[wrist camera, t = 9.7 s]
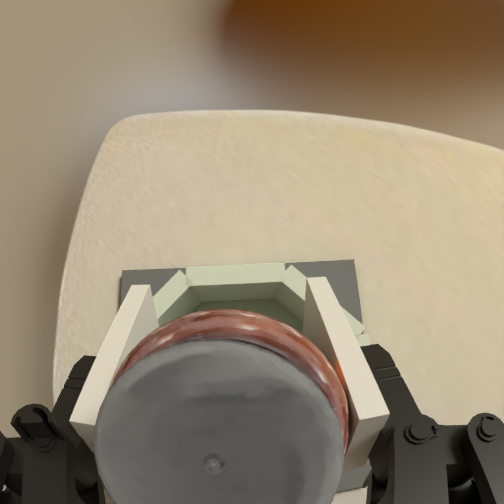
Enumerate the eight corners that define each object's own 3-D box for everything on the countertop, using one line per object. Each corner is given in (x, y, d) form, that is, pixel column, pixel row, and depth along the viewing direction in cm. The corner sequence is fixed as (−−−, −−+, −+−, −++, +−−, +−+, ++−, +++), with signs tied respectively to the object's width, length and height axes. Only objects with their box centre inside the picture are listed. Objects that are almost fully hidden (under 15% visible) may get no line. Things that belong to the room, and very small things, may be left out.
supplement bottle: (158, 360, 15) (5, 330, 4) (269, 319, 16) (316, 213, 5) (203, 467, 13) (133, 607, 2) (315, 425, 14) (440, 512, 3)
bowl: (336, 281, 21) (358, 258, 16) (349, 470, 16) (375, 494, 12) (141, 291, 21) (114, 269, 16) (149, 479, 16) (124, 504, 12)
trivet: (351, 262, 22) (353, 259, 21) (367, 482, 16) (370, 484, 16) (125, 273, 22) (122, 270, 21) (133, 492, 16) (130, 495, 16)
